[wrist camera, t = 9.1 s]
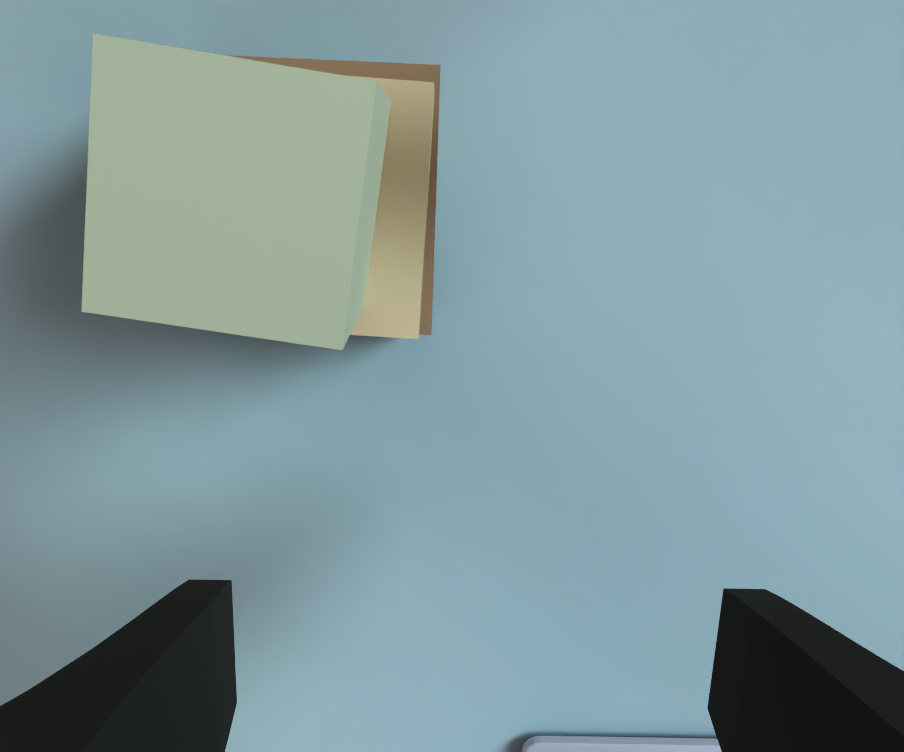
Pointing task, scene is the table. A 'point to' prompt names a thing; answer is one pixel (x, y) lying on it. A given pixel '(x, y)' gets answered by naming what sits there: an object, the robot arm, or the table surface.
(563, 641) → the table surface
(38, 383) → the table surface
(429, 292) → the tower base
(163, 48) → the top block
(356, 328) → the tower mid
